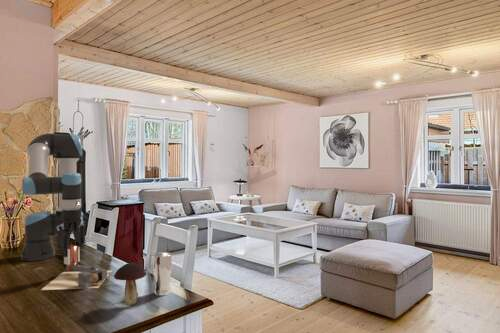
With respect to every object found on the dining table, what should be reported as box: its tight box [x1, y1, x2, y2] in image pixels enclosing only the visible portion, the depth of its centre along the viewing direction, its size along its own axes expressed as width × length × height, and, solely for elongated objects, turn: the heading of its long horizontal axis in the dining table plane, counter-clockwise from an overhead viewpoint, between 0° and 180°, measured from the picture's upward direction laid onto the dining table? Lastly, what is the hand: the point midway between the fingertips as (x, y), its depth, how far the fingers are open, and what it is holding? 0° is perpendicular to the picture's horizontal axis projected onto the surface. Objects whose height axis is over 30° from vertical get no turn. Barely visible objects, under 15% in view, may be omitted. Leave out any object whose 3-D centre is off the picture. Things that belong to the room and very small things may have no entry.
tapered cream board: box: [40, 269, 113, 291], centre depth 143 cm, size 21×21×6 cm
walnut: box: [92, 273, 99, 283], centre depth 139 cm, size 4×4×4 cm
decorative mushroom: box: [113, 262, 148, 306], centre depth 122 cm, size 11×11×15 cm
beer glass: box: [152, 251, 173, 297], centre depth 133 cm, size 7×7×15 cm
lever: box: [66, 244, 108, 280], centre depth 146 cm, size 5×22×11 cm, turn 65°
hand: (71, 262), depth 149 cm, fingers closed on lever, 4 cm apart
